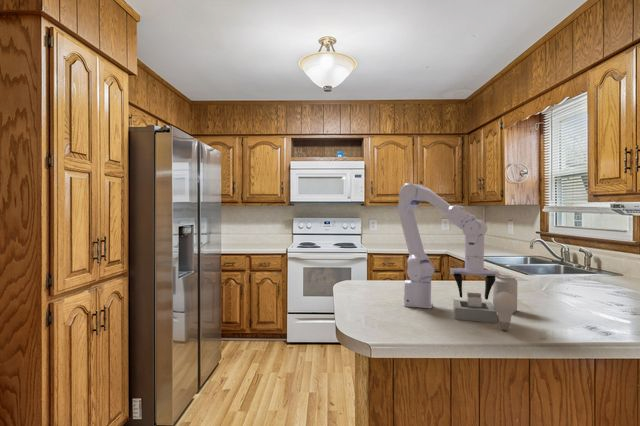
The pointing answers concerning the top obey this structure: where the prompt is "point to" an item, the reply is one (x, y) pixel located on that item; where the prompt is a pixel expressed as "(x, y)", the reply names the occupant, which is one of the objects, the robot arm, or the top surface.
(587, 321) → the top surface
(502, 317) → the lightbulb
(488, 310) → the well block
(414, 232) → the robot arm
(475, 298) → the bracket
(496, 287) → the can
